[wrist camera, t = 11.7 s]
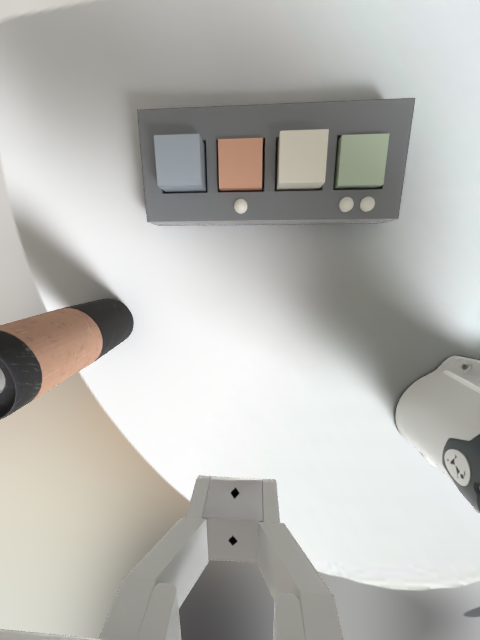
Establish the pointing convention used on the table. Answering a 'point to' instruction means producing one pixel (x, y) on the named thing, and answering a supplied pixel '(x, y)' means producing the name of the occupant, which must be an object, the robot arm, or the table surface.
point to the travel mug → (56, 348)
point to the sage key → (360, 161)
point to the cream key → (301, 160)
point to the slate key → (181, 163)
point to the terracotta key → (240, 164)
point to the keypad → (267, 125)
